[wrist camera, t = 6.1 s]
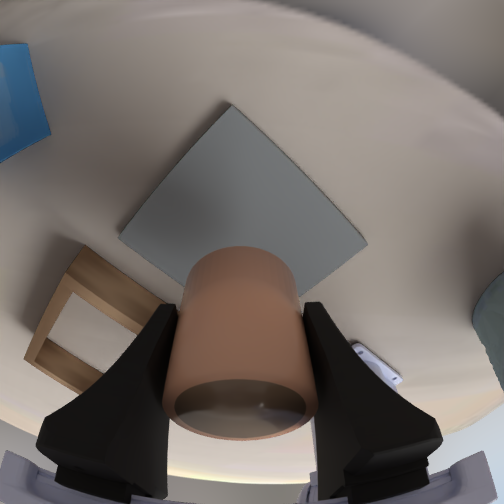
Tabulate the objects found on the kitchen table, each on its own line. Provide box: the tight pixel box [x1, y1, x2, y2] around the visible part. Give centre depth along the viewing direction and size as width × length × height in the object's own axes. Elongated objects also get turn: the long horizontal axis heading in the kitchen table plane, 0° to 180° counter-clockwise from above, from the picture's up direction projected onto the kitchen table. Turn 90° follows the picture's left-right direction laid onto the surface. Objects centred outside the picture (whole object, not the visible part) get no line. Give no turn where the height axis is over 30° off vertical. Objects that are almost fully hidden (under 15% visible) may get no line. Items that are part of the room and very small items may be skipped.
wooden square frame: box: [24, 245, 179, 395], centre depth 22 cm, size 14×14×3 cm
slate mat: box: [118, 105, 368, 297], centre depth 18 cm, size 11×10×1 cm
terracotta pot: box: [162, 246, 319, 441], centre depth 11 cm, size 5×5×6 cm
